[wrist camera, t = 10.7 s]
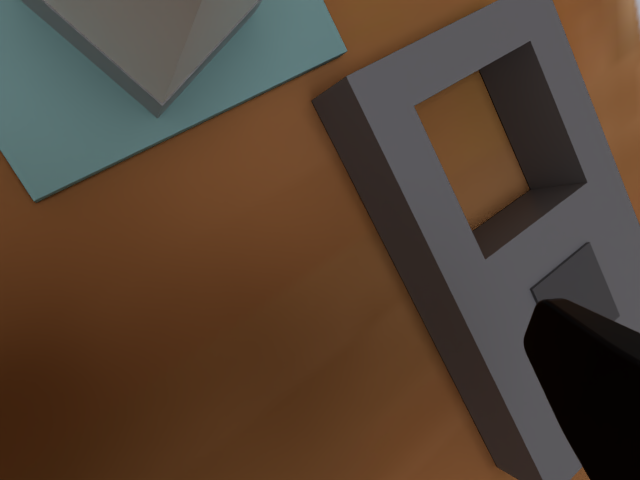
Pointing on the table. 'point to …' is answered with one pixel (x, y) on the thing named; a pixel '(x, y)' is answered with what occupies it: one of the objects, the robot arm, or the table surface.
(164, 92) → the white tall block
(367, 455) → the table surface
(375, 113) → the power strip
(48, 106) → the mat
